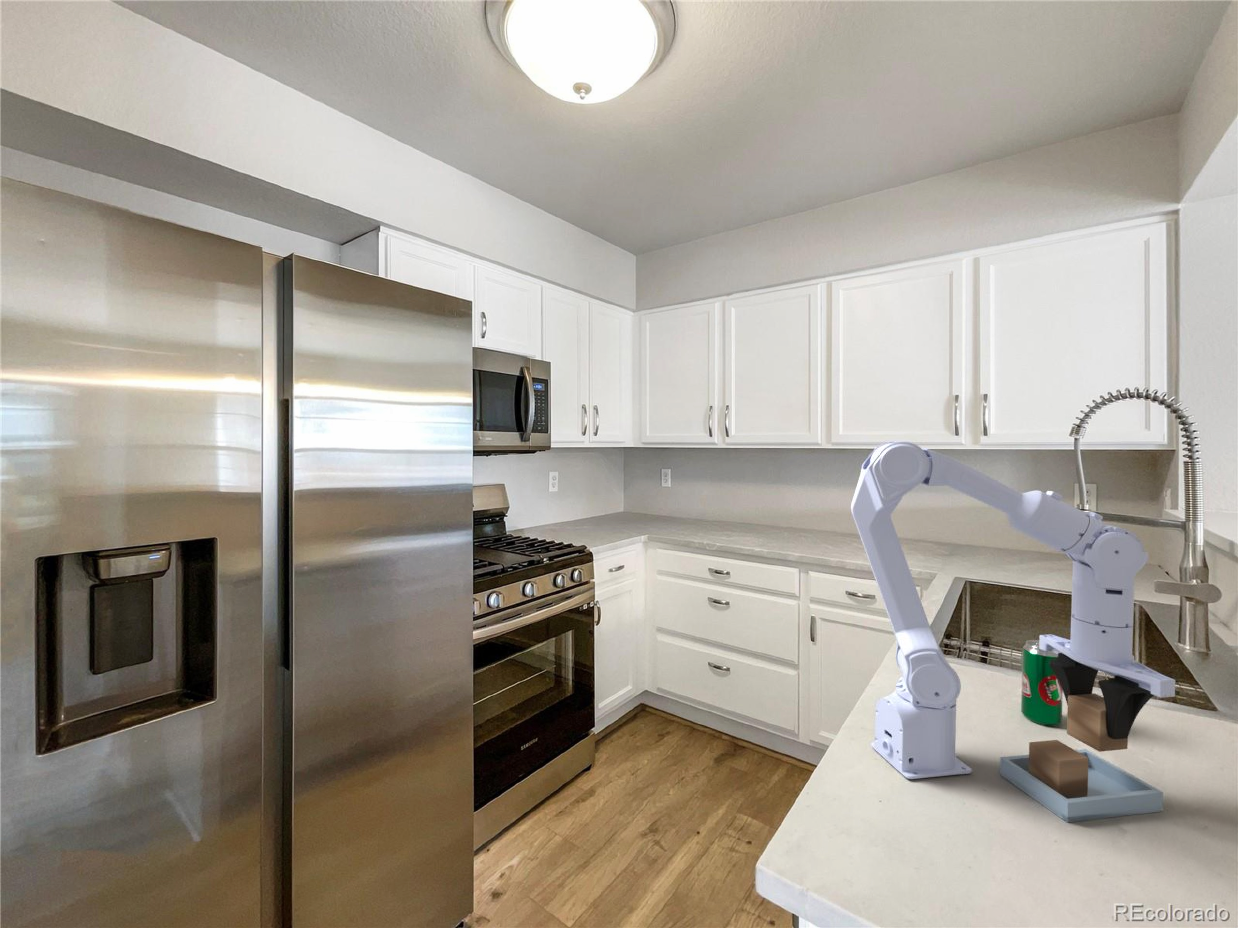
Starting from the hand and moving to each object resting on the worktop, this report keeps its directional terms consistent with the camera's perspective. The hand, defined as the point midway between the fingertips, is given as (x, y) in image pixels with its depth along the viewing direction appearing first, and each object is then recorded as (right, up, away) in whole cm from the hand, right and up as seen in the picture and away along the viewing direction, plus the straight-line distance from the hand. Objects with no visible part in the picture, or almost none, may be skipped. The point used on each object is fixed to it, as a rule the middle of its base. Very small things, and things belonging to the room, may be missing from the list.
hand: (1098, 727), depth 66 cm
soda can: (+7, -8, +17) cm, 20 cm away
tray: (-3, -8, 0) cm, 8 cm away
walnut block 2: (0, -2, 0) cm, 2 cm away
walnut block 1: (-6, -7, -1) cm, 9 cm away
